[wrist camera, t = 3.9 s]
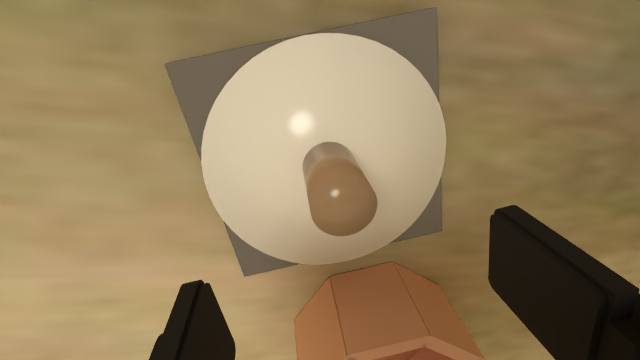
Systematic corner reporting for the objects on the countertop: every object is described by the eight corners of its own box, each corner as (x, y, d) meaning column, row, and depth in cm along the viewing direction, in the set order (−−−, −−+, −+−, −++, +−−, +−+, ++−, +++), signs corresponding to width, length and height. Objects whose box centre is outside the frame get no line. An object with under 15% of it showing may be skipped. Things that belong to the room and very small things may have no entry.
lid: (436, 7, 16) (506, -2, 11) (441, 231, 21) (489, 288, 16) (164, 63, 15) (115, 79, 10) (244, 276, 21) (235, 348, 16)
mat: (431, 8, 16) (436, 7, 15) (437, 225, 22) (442, 230, 21) (168, 62, 16) (164, 64, 15) (245, 270, 21) (244, 276, 21)
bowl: (437, 251, 23) (488, 321, 17) (440, 353, 27) (481, 433, 22) (284, 286, 22) (287, 369, 17) (314, 384, 27) (324, 473, 22)
